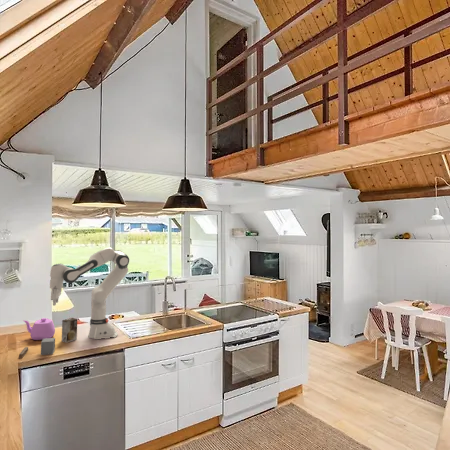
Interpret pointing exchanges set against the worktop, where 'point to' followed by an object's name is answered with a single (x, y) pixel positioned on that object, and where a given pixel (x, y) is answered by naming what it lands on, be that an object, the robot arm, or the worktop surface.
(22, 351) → the bar
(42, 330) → the teapot
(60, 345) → the worktop surface
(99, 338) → the robot arm
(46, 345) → the gray block
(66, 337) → the coffee box
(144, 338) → the worktop surface
